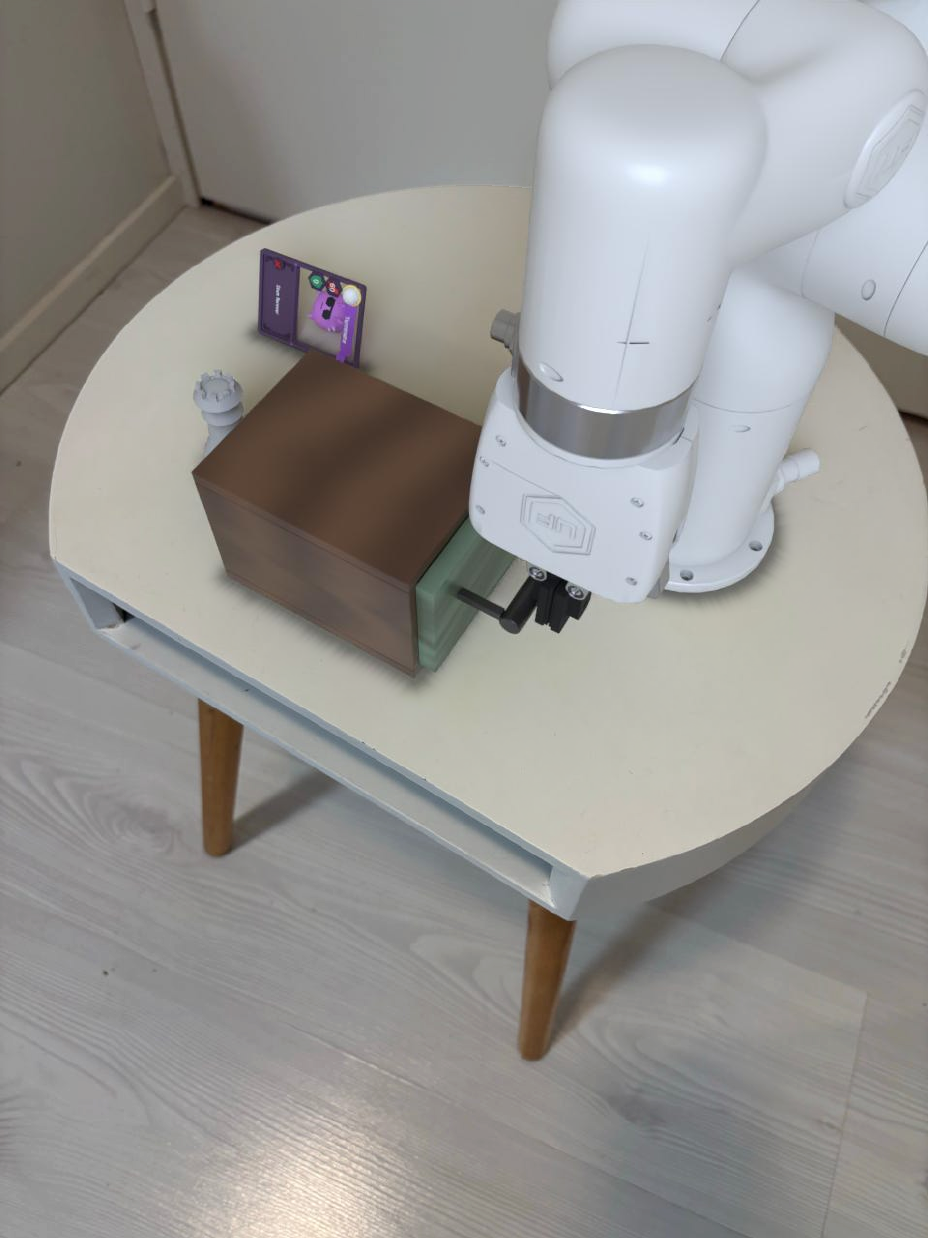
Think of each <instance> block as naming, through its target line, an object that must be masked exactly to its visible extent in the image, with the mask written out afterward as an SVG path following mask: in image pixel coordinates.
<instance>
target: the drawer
mask: <svg viewBox="0 0 928 1238" xmlns="http://www.w3.org/2000/svg"><path fill="white" fill-rule="evenodd" d="M516 558H518V556H516V555H514V554H511V553H510V552H508V551H506V550H504V549H502V548H500V547H498V546H496V545H494V544H492V543H491V542H489V541H488V540H486V539H485V538H483V537H482V536H481V535H480V534H479V533H478V532H477V531H476V530H475V529H474V527H473V526H472V524H471V521H470V517H469V514H468V515H467V517H466V518H465V519H464V521H463V522H462V523H461V525H460V526H459V527H458V529H457V530H456V531H455V533H454V534H453V535H452V537H451V538H450V539H449V541H448V542H447V543H446V545H445V546H444V547H443V549H442V550H441V551H440V553H439V556H438V557H437V558H436V560H435V561H434V562H433V564H432V565H431V566H430V568H429V569H428V570H427V572H426V573H425V574H424V576H423V577H422V578H421V580H420V581H419V582H418V583H417V585H416V586H415V590H416V609H417V628H418V646H419V664H420V665H422V666H423V667H424V668H425V669H427V670H429V671H431V672H433V673H437V671H438V670H439V668H440V667H441V666H442V664H443V663H444V661H445V660H446V659H447V657H448V656H449V655H450V653H451V651H452V650H453V648H454V647H455V645H456V644H457V643H458V641H459V640H460V639H461V638H462V636H463V634H464V633H465V631H466V630H467V629H468V627H469V625H470V624H471V623H472V621H473V620H474V618H475V617H476V616H477V614H478V613H479V611H480V612H482V613H484V614H485V615H488V617H489V616H490V617H492V618H494V619H495V620H497V621H498V623H499V626H500V627H501V628H502V629H503V630H504V631H506V632H507V633H509V634H511V635H518V634H520V633H521V632H522V631H523V629H524V628H525V626H526V623H528V621H529V619H530V618H531V617H532V615H533V613H534V612H535V611H536V609H537V603H538V600H536V599H534V598H532V592H533V585H534V578H532V577H531V576H530V575H529V574H528V576H527V578H526V579H525V581H524V582H523V583H522V585H521V587H520V588H519V589H518V591H517V592H516V594H515V595H514V597H513V598H512V600H511V601H510V603H508V606H507V607H506V608H504V607H503V606H501V605H498V604H497V603H495V602H493V601H490V600H489V599H488V598H489V597H490V596H491V594H492V592H493V591H494V589H495V588H496V587H497V585H498V584H499V583H500V581H501V580H502V579H503V577H504V576H505V574H506V572H507V571H508V570H509V568H510V567H511V565H512V564H513V563H514V561H515V559H516Z"/></svg>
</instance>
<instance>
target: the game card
mask: <svg viewBox="0 0 928 1238" xmlns="http://www.w3.org/2000/svg"><path fill="white" fill-rule="evenodd" d="M301 269H303V270H307V271H309V272H311V273H310V274H309V276H308V277H307V279H308V282H309V284H310V288H311V289H313V290H315V291H316V294H317V296H316V297H315V300H314V301H313V304H312V312H311V313H308V314H307V315H306V317H308V318H309V319H311V320H313V321H314V323H316V325H317V326H318V327H319V328H320V329H322V330H323V331H325V332H327V333H331V334H332V333H340V332H341V337H340V338H341V339H340V345H339V351H338V352H337V354H336V355H334V354H331V353H329V352H326V351H324V350H321V349H318V348H316V347H314V346H311V345H308V344H306V343H304V342H301V341H298V340H297V332H298V331H297V330H298V318H299V317H298V314H299V299H300V298H299V297H300V283H301V281H300V280H301ZM258 273H259V274H258V275H259V277H258V308H257V311H258V312H257V332H258V333H259V334H260V335H262V336H265V337H267V338H270V339H272V340H275V341H278V342H280V343H283V344H285V345H287V346H291V347H292V348H295V349H298V350H300V351H303V352H306V353H307V352H308V351H309V350H310V349H311V348H312V349H314V350H317V351H319V352H321V353H323V354H325V355H328V356H330V357H332V358H334V359H336V360H338V361H341V362H343V363H345V364H347V365H349V366H352V367H354V368H356V369H358V370H359V366H360V359H361V350H362V349H361V348H362V340H363V339H362V338H363V329H364V322H365V321H364V320H365V311H366V303H367V301H366V300H367V292H368V287H367V285H365V284H364V283H361V282H359V281H355V280H353V279H350V278H347V277H344V276H343V275H339V274H336V273H334V272H331V271H329V270H326V269H323V268H320V267H318V266H316V265H312V264H310V263H307V262H304V261H302V260H299V259H296V258H294V257H290V256H288V255H286V254H283V253H280V252H277V251H276V250H272V249H270V248H266V247H263V248H261V249H260V251H259V272H258ZM325 278H327V279H325ZM341 283H342V284H344V285H345V286H344V287H342V284H341ZM324 288H325V290H324ZM357 309H358V311H357ZM356 315H357V319H356ZM355 324H356V328H355ZM355 329H356V330H355ZM354 332H355V340H354V349H353V358H352V359H353V360H352V362H351V361H349V360H346V358H349V359H350V358H351V354H352V346H353V339H354Z"/></svg>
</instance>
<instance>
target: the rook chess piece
mask: <svg viewBox="0 0 928 1238" xmlns="http://www.w3.org/2000/svg"><path fill="white" fill-rule="evenodd" d="M200 379H201V381H200V380H196V381H195V387H194V390H193V395H192V400H193V402H194V406H196V407H197V408H198V409H200V410H201V413H200V415H201V417H202V419H203V420H204V421H205V422H206V423H207V430H208V436H207V438H206V441H205V443H204V449H203V459H204V458H205V457H206V456H207V455H208V454H209V453H210V452H211V451H212V450H213V449H214V448H215V447H216V446H217V445H218V444H219V443H220V442H221V441H222V440H223V439H224V438H225V437H226V436H227V435H228V434H229V433H230V432H231V431H232V429H233V428H234V427H235V426H236V425H237V424H238V423H239V422H240V421H241V420H242V419H243V418H244V415H243V414H244V408H245V407H244V404H243V402H242V401H241V400H242V399H243V394H244V390H243V388H242V385H241V384H240V383H239V381H237V380H236V379H235V378H234V377H233V375H232V374H231V373H229V372H227V373H225V374H224V375H223V371H222V369H213V375H210V374H208V371H205V372H204V373H201V375H200Z"/></svg>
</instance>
